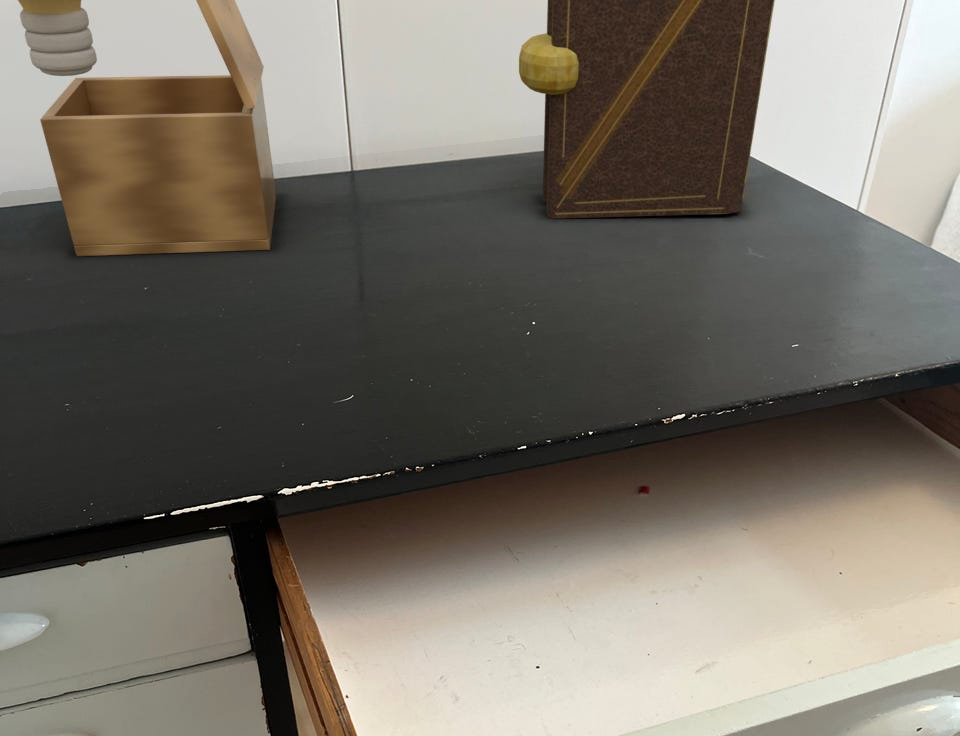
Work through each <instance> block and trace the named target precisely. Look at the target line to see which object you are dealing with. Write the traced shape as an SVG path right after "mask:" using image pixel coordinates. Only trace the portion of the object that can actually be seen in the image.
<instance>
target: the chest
mask: <svg viewBox="0 0 960 736" xmlns="http://www.w3.org/2000/svg"><path fill="white" fill-rule="evenodd" d="M264 97H265V96H264V89H263V81H262V79H261V82H260V87H259V91H258V96H257V100H256V105H255V107H253V108H251V109H249V110H246V108H245V106H244V103H243V101H242V99H241V97H240V95H239V92H238V90H237V88H236V86H235V84H234V82H233V79H232V77H231V75H230V74H223V75H222V74H219V75H216V74H215V75H163V76H162V75H161V76H159V75H158V76H108V77H107V76H104V77H100V76H99V77H97V76H96V77H94V76H93V77H75V78H74V79H73V80H72V81H71V82H70V83H69V85H68V86H67V87H66V88H65V89H64V90H63V92H62V93H61V94H60V95H59V97H57V98H56V100H55V101H54V102H53V103H52V104H51V106H50V107H49V108H48V109H47V110H46V112H45V113H44V114H43V115H42V116H41V118H40V124H41V128H42V132H43V136H44V139H45V144H46V147H47V152H48V155H49V158H50V162H51V165H52V170H53V174H54V176H55V181H56V185H57V188H58V191H59V195H60V199H61V204H62V207H63V210H64V215H65V218H66V222H67V225H68V230H69V233H70V236H71V240H72V244H73V248H74V253H75V256H76V257H93V256H94V257H96V256H99V257H100V256H128V255H129V256H130V255H152V254H184V253H188V254H189V253H214V252H215V253H217V252H244V251H246V252H247V251H270V250H271V245H272V238H273V237H272V235H273V226H274V219H275V211H276V201H277V192H276V191H277V190H276V184H275V183H276V182H275V176H274V169H273V168H274V167H273V159H272V153H271V145H270V137H269V128H268V120H267V112H266V105H265V98H264Z"/></svg>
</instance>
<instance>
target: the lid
mask: <svg viewBox="0 0 960 736" xmlns="http://www.w3.org/2000/svg"><path fill="white" fill-rule="evenodd" d="M195 1H196V3H197V5H198V8H199V10H200V12H201V14H202V17H203V19H204V20H205V23H206V25H207V27H208V29H209V32H210V34H211V36H212V39H213V40H214V42H215V44H216V47H217V50H218V51H219V54H220V55H221V58H222V60H223V63H224V64H225V66H226V68H227V70H228V73H229V75H231V77H232V79H233V82H234V84H235V86H236V88H237V90H238V92H239V95H240V97H241V99H242V101H243V103H244V106H245V108H246V110H249V109H251V108H253V107H255V105H256V100H257V96H258V91H259V87H260V82H261V80H262V77H263V72H264V64H263V62H262V59H261V57H260V55H259V52H258V49H257V48H256V45H255V44H254V41H253V39H252V36H251V34H250V32H249V30H248V27H247V25H246V22H245V21H244V18H243V15H242V14H241V11H240V9H239V7H238V4H237V2H236V0H195Z"/></svg>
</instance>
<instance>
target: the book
mask: <svg viewBox="0 0 960 736" xmlns="http://www.w3.org/2000/svg"><path fill="white" fill-rule="evenodd" d="M775 1H776V0H547V12H546V13H547V15H546V33H541V34H536V35H534V36H531V37H530V38H528V39H527V40H526V41H525V42H524V43H523V44H522V45H521V47H520V51H519V54H518V75H519V77H520V81H521V82H522V83H523V84H524V85H525V86H526V87H527V88H528V89H529V90H531V91H533V92H536V93H540V94H544V123H543V124H544V126H543V127H544V128H543V130H544V131H543V164H542V165H543V166H542V167H543V168H542V169H543V170H542V202H543V203H544V204H546V211H545V212H546V213H545V215H546V216H547V217H546V218H548V219H552V220H555V219H585V218H587V219H588V218H589V219H590V218H623V217H624V218H625V217H647V216H648V217H655V216H656V217H658V216H691V215H693V216H695V215H725V214H727V215H728V214H732V213H739V212H740V211H741V210H742V207H743V203H744V197H745V190H746V183H747V177H748V171H749V164H750V158H751V153H752V152H751V151H752V147H753V146H752V145H753V140H754V133H755V126H756V121H757V116H758V115H757V114H758V109H759V101H760V96H761V89H762V83H763V77H764V69H765V65H766V64H765V63H766V59H767V51H768V44H769V38H770V33H771V25H772V19H773V13H774V7H775Z"/></svg>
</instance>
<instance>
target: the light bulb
mask: <svg viewBox="0 0 960 736" xmlns="http://www.w3.org/2000/svg"><path fill="white" fill-rule="evenodd" d="M17 1H18V3H19V5H20V6H21V8H22V10H21V11H20V13H19V18H20V22H21V26H22V27H23V28H24V29H25V32H24V38H25V42H26V44H27V46H28V47H29V48H30V49H29V58H30V61H31V64H32V65H33V67H35V68H36V69H38V70H40V72H41V73H43V74H46V75H49V76H56V77H73V76H78V75H83V74H86V73H89V72H90V71H92V69H93V66H95V65H96V64H97V63H98V62H97V61H98V58H97V52H96V49H95V48H94V47H93V43H94V39H93V34H92V31H91V30H90V28H89V25H90V18H89V14H88V13H87V10H85V8H83V7H82V0H17Z"/></svg>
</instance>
